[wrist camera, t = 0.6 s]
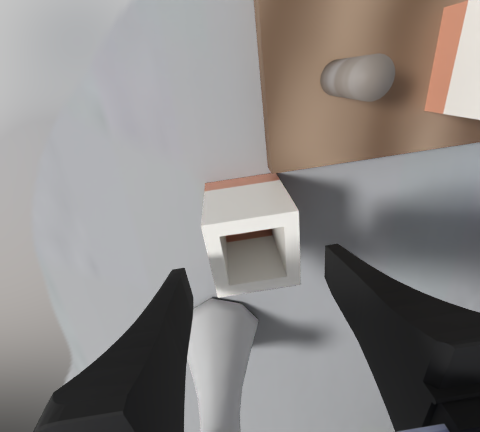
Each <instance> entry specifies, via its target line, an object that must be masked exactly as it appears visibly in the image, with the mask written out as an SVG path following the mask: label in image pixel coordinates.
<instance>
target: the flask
mask: <svg viewBox="0 0 480 432" xmlns="http://www.w3.org/2000/svg"><path fill="white" fill-rule="evenodd" d="M258 321H259V320H258V319H257V318H256V317H255V316H254V315H253V314H252V313H251V312H250V311H248V310H247V309H246V308H245V307H244V306H243V305H242V304H240V303H235V302H229V301H223V300H218V299H212V298H211V299H209V300H207V301H206V302H204V303H202V304H201V305H199V306H197V307H196V308H194V309H193V320H192V327H191V334H190V341H189V348H188V355H187V360H188V363H189V366H190V370H191V374H192V378H193V381H194V385H195V389H196V392H197V397H198V406H199V416H200V432H240V405H241V394H242V386H243V382H244V377H245V373H246V368H247V364H248V360H249V355H250V352H251V348H252V344H253V340H254V337H255V333H256V329H257V325H258Z"/></svg>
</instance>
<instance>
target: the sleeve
mask: <svg viewBox="0 0 480 432" xmlns="http://www.w3.org/2000/svg"><path fill="white" fill-rule="evenodd" d="M201 228H202V233H203V237H204V241H205V245H206V250H207V254H208V258H209V262H210V267H211V271H212V275H213V279H214V283H215V288H216V292H217V296H218V298H219V297H226V296H232V295H238V294H245V293H251V292H258V291H264V290H270V289H277V288H283V287H290V286H296V285H301V268H300V233H299V210H298V209H297V207H296V205H295V204H294V202H293V200H292V199H291V197H290V195H289V194H288V192H287V191H286V189H285V187H284V186H283V184H282V182H281V181H280V179H279V177H278V176H277V174H276V173H274V174H272V173H269V174H262V175H256V176H249V177H243V178H236V179H230V180H223V181H217V182H210V183H205V192H204V201H203V211H202V220H201Z"/></svg>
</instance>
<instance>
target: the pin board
mask: <svg viewBox="0 0 480 432" xmlns="http://www.w3.org/2000/svg"><path fill="white" fill-rule="evenodd" d="M464 1H467V0H254V7H255V19H256V31H257V43H258V55H259V67H260V78H261V90H262V102H263V114H264V126H265V138H266V150H267V162H268V168H269V170H270V171H271V173H272V174H274V173H281V172H287V171H294V170H300V169H307V168H313V167H320V166H326V165H333V164H339V163H346V162H352V161H359V160H365V159H372V158H379V157H385V156H392V155H398V154H405V153H411V152H418V151H424V150H431V149H437V148H444V147H450V146H457V145H463V144H470V143H476V142H480V120H477V119H471V118H465V117H459V116H453V115H447V114H441V113H435V112H429V111H424V110H425V105H426V99H427V94H428V89H429V83H430V78H431V73H432V68H433V62H434V57H435V52H436V47H437V41H438V36H439V31H440V25H441V20H442V15H443V10H444V7H447V6H451V5H454V4H457V3H461V2H464Z"/></svg>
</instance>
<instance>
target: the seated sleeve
mask: <svg viewBox="0 0 480 432" xmlns="http://www.w3.org/2000/svg"><path fill="white" fill-rule="evenodd" d="M424 111H429V112H435V113H441V114H447V115H453V116H459V117H465V118H471V119H477V120H480V0H467V1H464V2H461V3H457V4H454V5H451V6H447V7H444V10H443V15H442V20H441V25H440V31H439V36H438V41H437V47H436V52H435V57H434V62H433V68H432V73H431V78H430V83H429V89H428V94H427V99H426V105H425V110H424Z"/></svg>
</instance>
